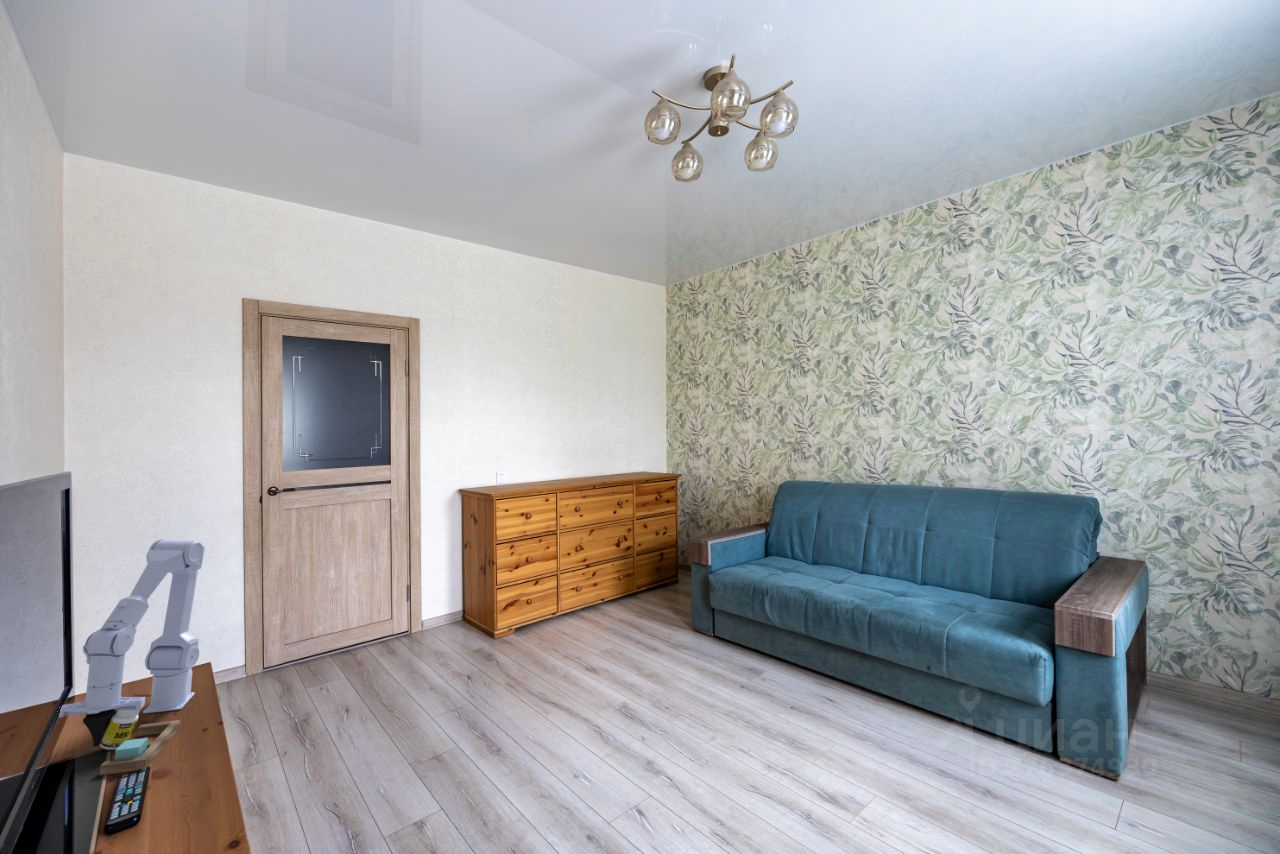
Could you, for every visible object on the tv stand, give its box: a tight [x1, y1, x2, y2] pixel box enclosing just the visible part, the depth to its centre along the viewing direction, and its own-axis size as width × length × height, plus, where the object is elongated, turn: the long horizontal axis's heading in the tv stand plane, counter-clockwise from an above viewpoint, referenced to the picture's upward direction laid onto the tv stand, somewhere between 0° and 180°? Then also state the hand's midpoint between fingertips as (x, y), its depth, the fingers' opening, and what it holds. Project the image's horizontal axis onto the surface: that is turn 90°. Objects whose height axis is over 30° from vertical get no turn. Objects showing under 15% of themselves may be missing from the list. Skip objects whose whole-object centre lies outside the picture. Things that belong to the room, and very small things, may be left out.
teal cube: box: [114, 737, 149, 760], centre depth 116 cm, size 4×4×4 cm
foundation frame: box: [98, 719, 181, 776], centre depth 121 cm, size 18×8×2 cm, turn 22°
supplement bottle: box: [99, 707, 141, 751], centre depth 122 cm, size 5×5×8 cm
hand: (98, 744), depth 120 cm, fingers closed, pressing on supplement bottle
